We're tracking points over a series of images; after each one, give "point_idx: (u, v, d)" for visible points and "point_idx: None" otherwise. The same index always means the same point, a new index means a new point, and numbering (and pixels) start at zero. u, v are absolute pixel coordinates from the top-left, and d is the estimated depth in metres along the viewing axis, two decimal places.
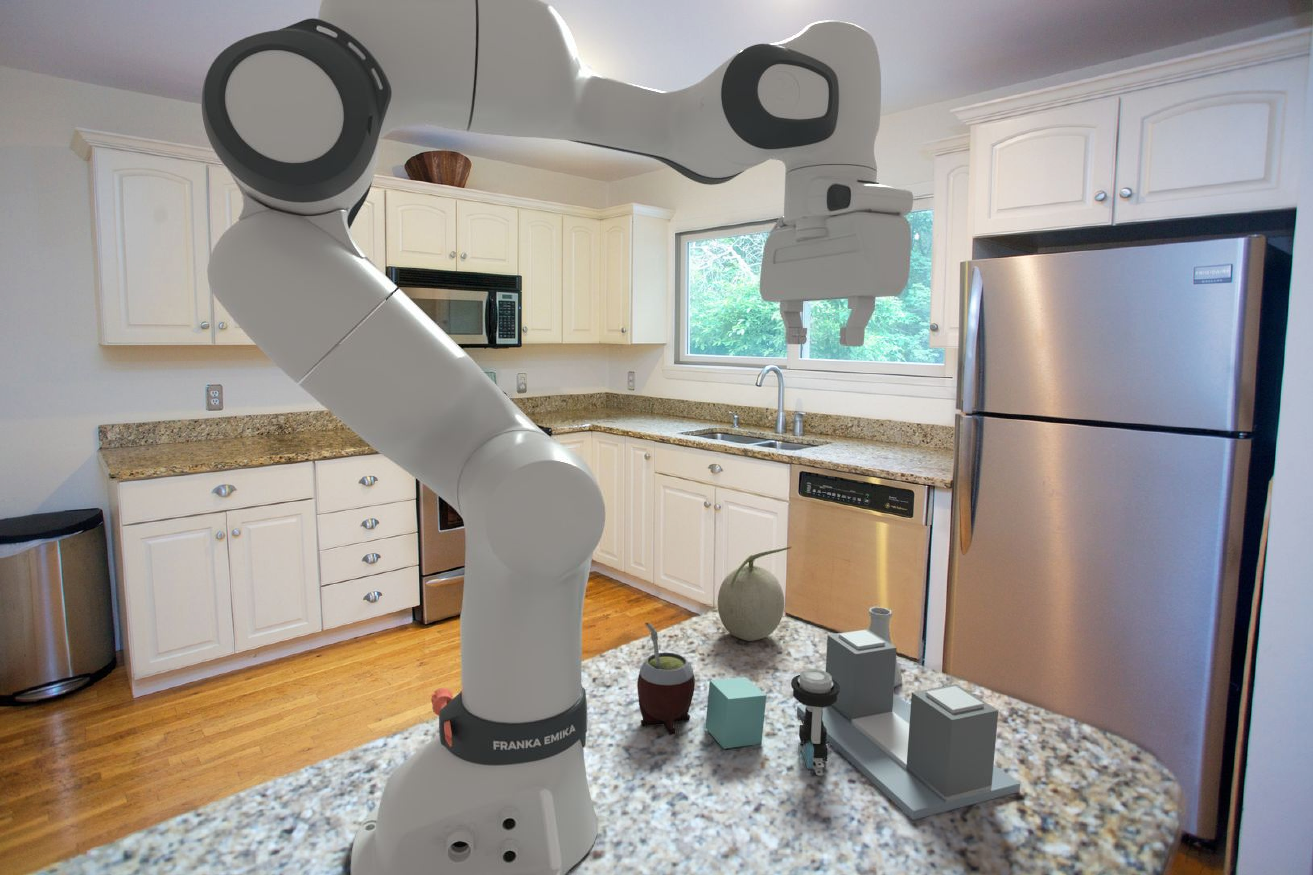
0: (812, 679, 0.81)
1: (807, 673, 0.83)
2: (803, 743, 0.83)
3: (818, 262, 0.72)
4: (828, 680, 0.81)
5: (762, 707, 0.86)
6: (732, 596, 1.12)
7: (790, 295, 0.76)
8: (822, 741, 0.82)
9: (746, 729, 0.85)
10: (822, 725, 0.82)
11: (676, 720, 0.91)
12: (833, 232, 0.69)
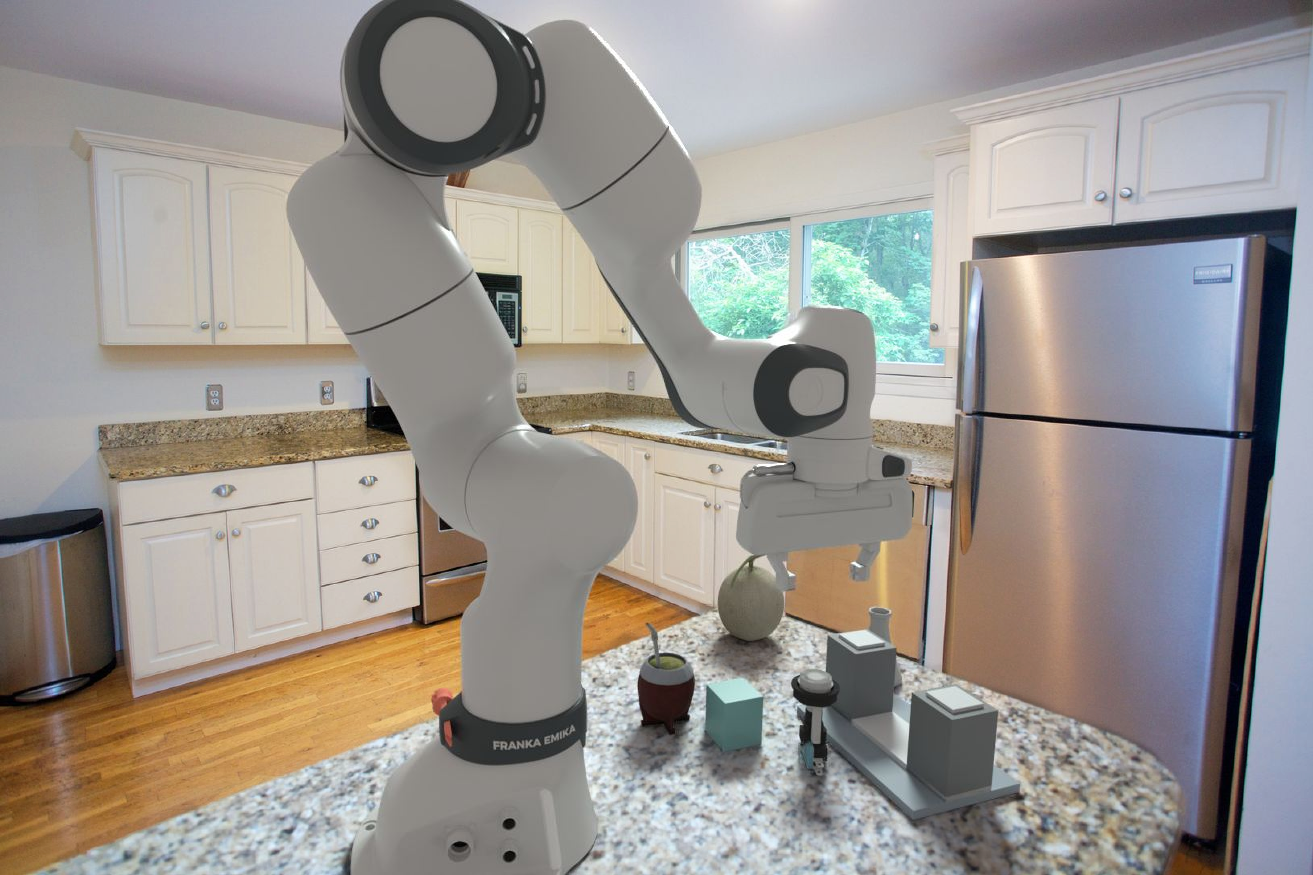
0: (812, 679, 0.81)
1: (807, 673, 0.83)
2: (803, 743, 0.83)
3: (844, 516, 0.78)
4: (828, 680, 0.81)
5: (760, 708, 0.86)
6: (732, 596, 1.12)
7: (806, 547, 0.76)
8: (822, 741, 0.82)
9: (745, 731, 0.85)
10: (822, 725, 0.82)
11: (676, 720, 0.91)
12: (868, 491, 0.78)
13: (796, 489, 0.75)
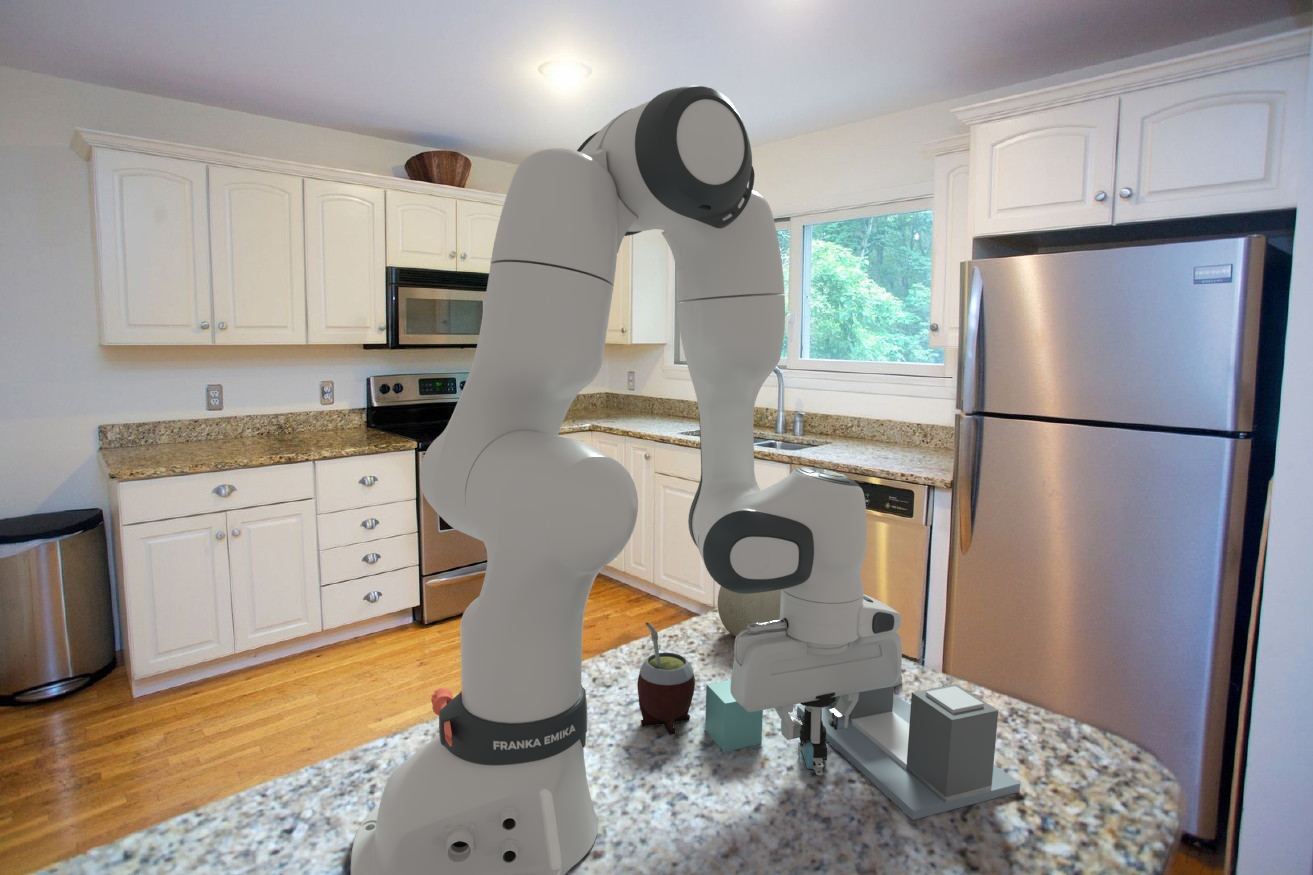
0: None
1: None
2: (803, 743, 0.83)
3: (836, 669, 0.80)
4: None
5: None
6: (732, 596, 1.12)
7: (798, 701, 0.79)
8: (822, 741, 0.82)
9: (745, 731, 0.85)
10: (821, 725, 0.82)
11: (676, 720, 0.91)
12: (859, 645, 0.80)
13: (789, 647, 0.77)
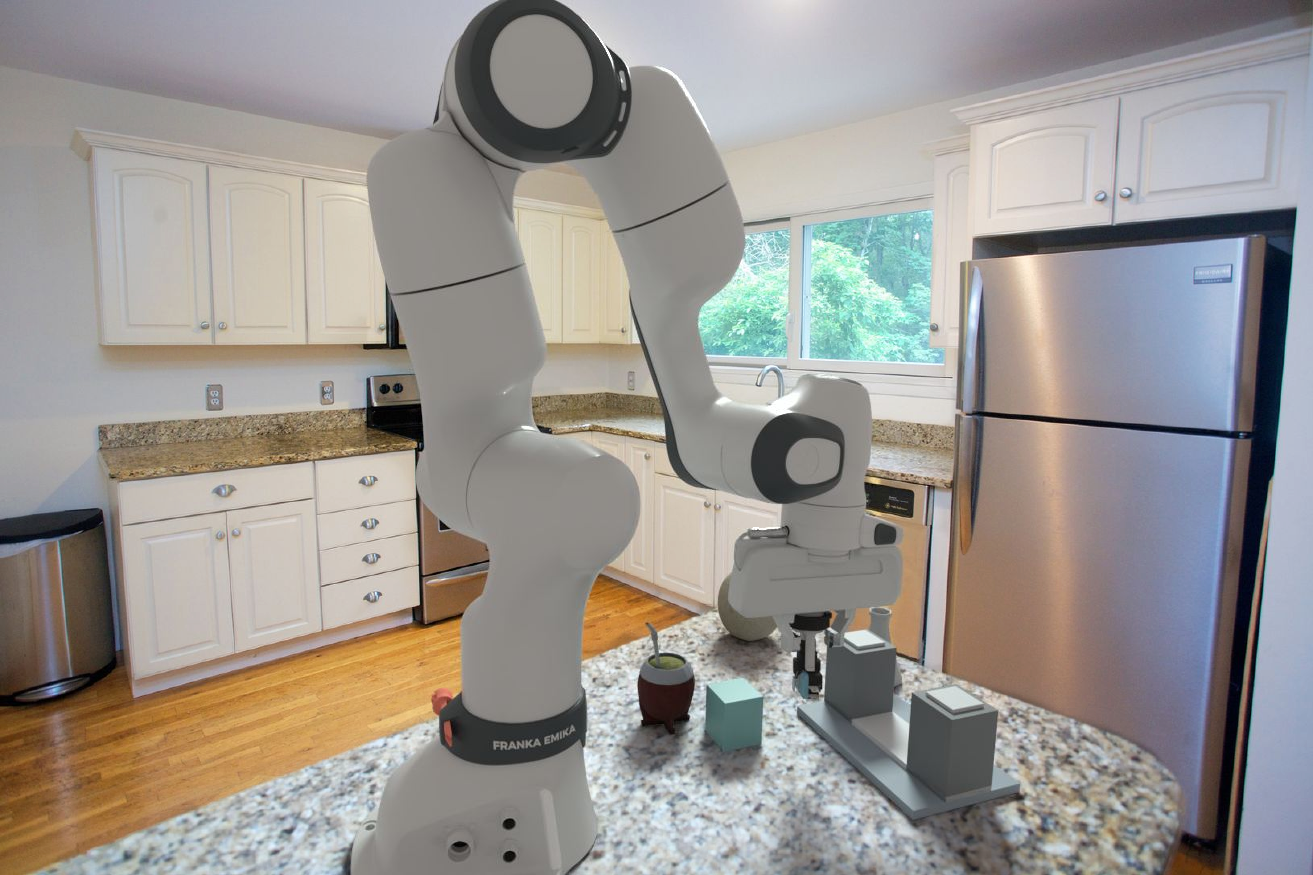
0: None
1: None
2: (797, 674, 0.81)
3: (836, 581, 0.78)
4: None
5: (760, 708, 0.86)
6: None
7: (797, 611, 0.77)
8: (816, 670, 0.81)
9: (745, 731, 0.85)
10: (816, 654, 0.81)
11: (676, 720, 0.91)
12: (860, 558, 0.79)
13: (789, 553, 0.76)
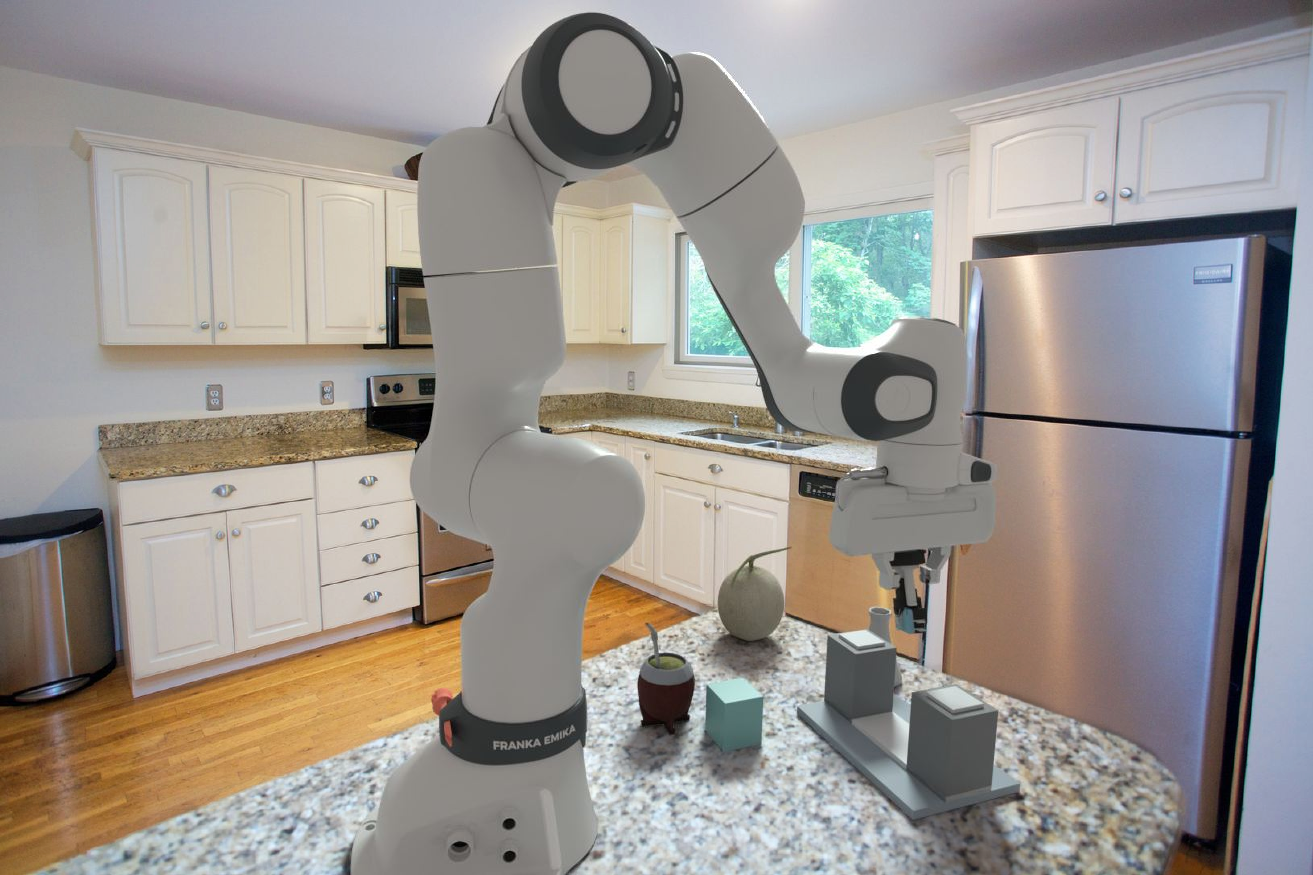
0: None
1: None
2: (900, 613, 0.83)
3: (933, 519, 0.81)
4: None
5: (760, 708, 0.86)
6: (732, 596, 1.12)
7: (897, 549, 0.79)
8: (918, 606, 0.82)
9: (745, 731, 0.85)
10: (915, 590, 0.83)
11: (676, 720, 0.91)
12: (956, 495, 0.81)
13: (890, 493, 0.78)
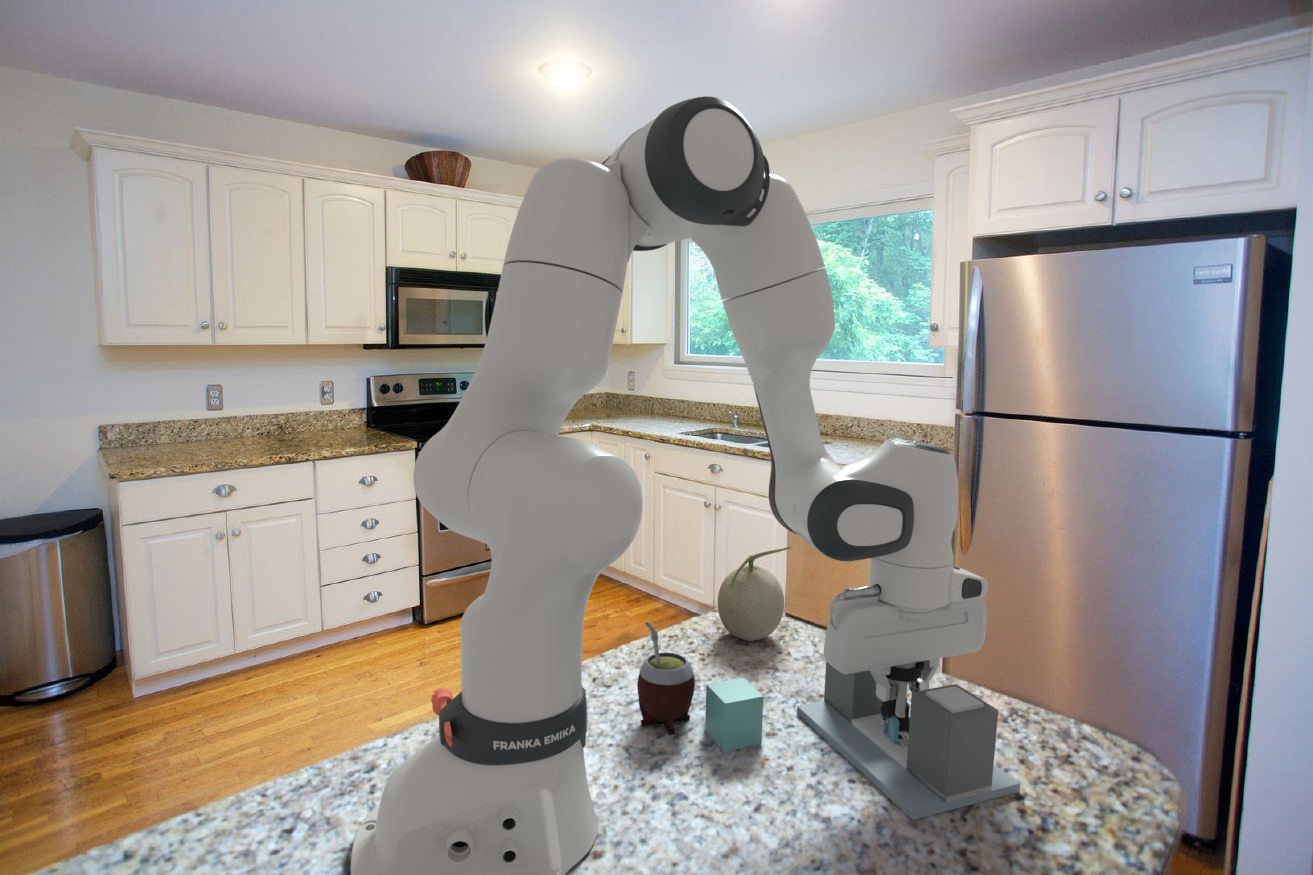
0: None
1: None
2: (886, 717, 0.85)
3: (925, 634, 0.82)
4: None
5: (760, 708, 0.86)
6: (732, 596, 1.12)
7: (890, 664, 0.81)
8: (906, 715, 0.85)
9: (745, 731, 0.85)
10: (906, 700, 0.85)
11: (676, 720, 0.91)
12: (948, 610, 0.83)
13: (882, 612, 0.80)
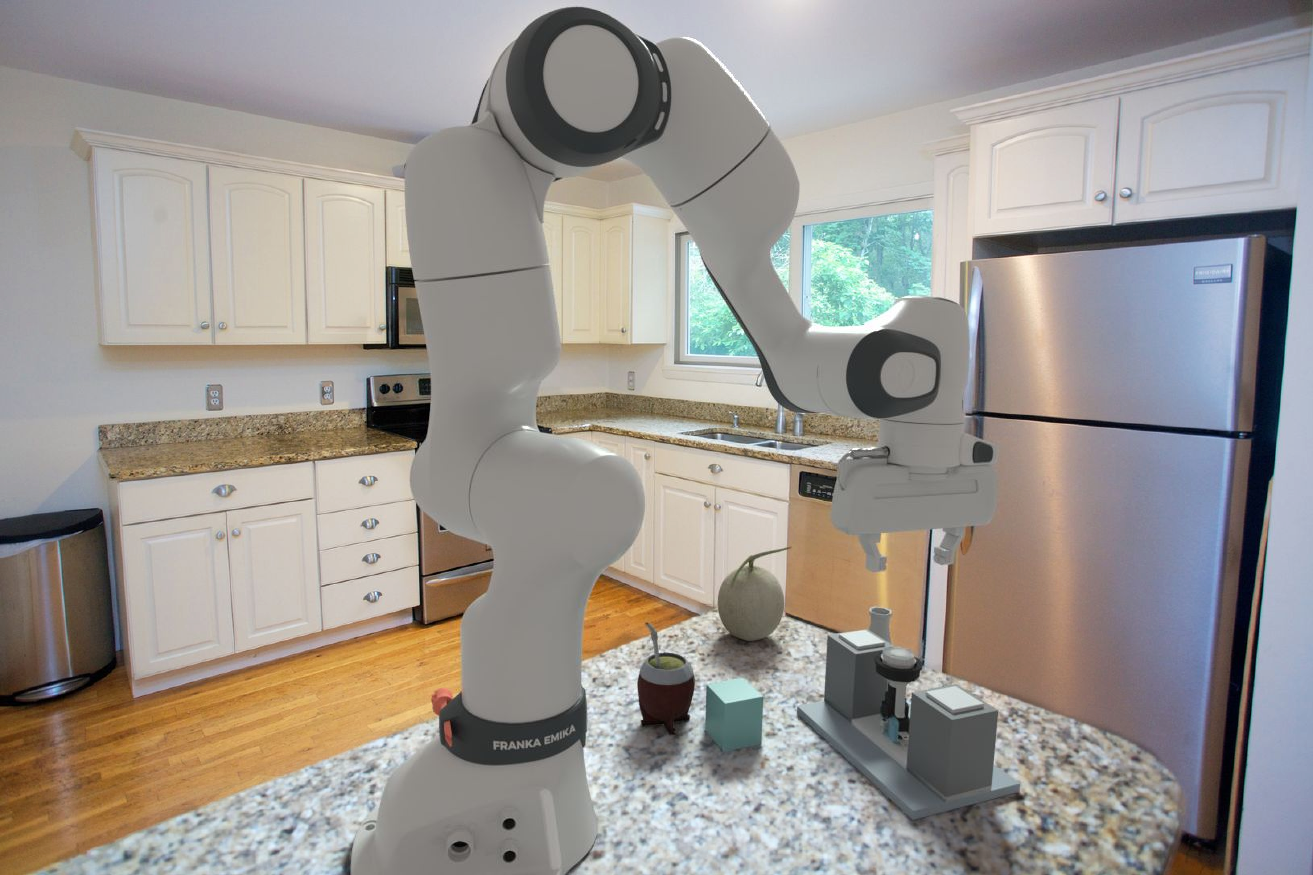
0: (896, 655, 0.84)
1: (890, 650, 0.85)
2: (886, 718, 0.85)
3: (934, 500, 0.80)
4: (912, 656, 0.84)
5: (760, 708, 0.86)
6: (732, 596, 1.12)
7: (898, 529, 0.79)
8: (905, 715, 0.85)
9: (745, 731, 0.85)
10: (905, 700, 0.85)
11: (676, 720, 0.91)
12: (958, 477, 0.81)
13: (891, 472, 0.78)
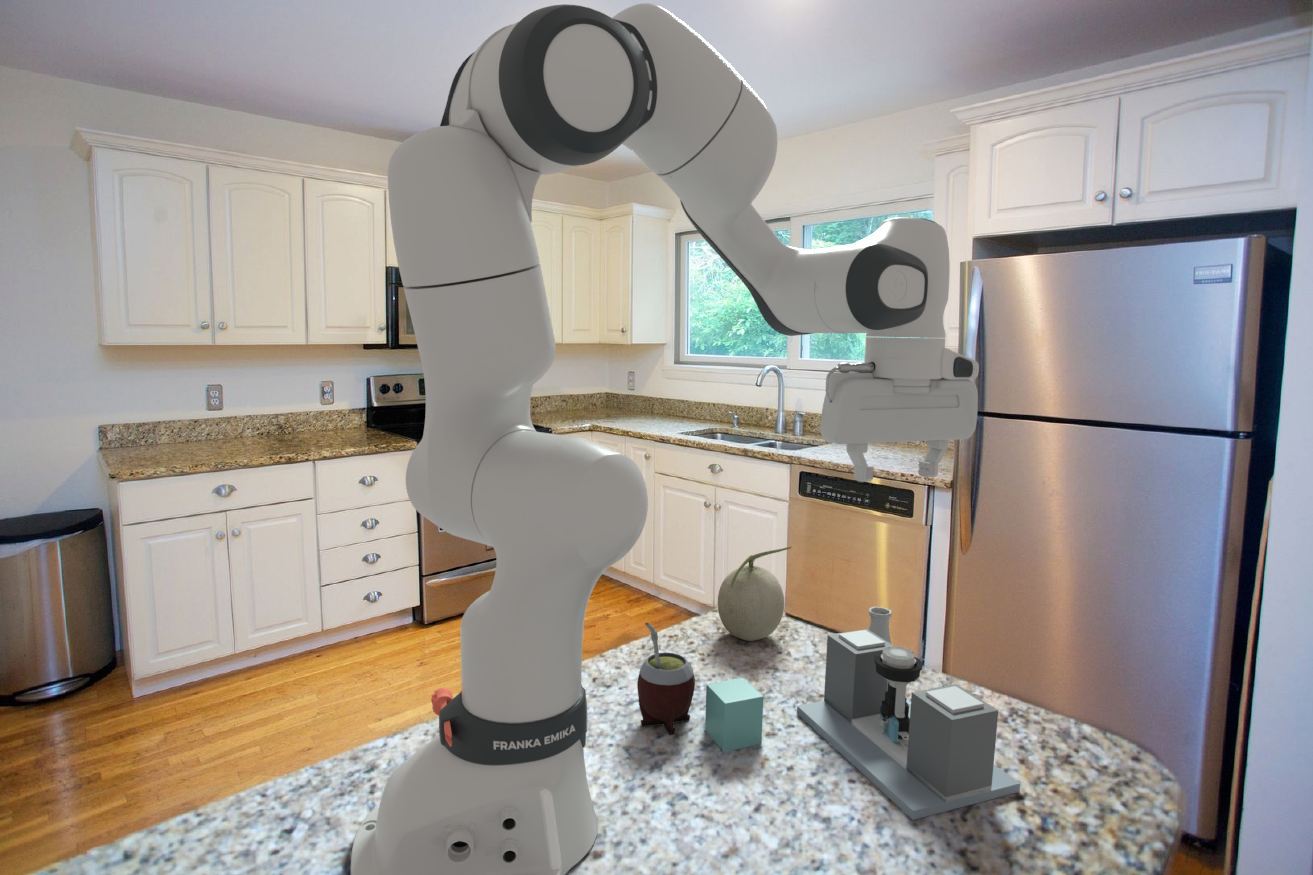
0: (896, 655, 0.84)
1: (890, 650, 0.85)
2: (886, 718, 0.85)
3: (918, 413, 0.85)
4: (912, 656, 0.84)
5: (760, 708, 0.86)
6: (732, 596, 1.12)
7: (884, 439, 0.84)
8: (905, 715, 0.85)
9: (745, 731, 0.85)
10: (905, 700, 0.85)
11: (676, 720, 0.91)
12: (940, 391, 0.86)
13: (877, 385, 0.83)
